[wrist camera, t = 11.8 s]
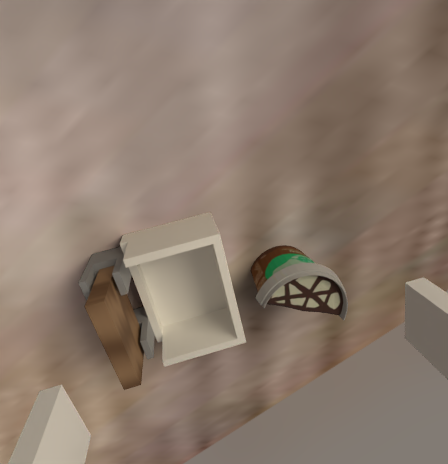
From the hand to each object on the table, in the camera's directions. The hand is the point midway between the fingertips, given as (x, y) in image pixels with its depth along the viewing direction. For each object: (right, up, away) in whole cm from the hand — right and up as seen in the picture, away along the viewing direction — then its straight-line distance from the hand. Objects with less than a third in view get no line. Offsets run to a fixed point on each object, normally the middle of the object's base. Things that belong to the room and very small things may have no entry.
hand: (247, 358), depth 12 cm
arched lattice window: (+8, +1, +36) cm, 37 cm away
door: (-14, -5, +30) cm, 34 cm away
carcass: (-9, -2, +34) cm, 35 cm away
